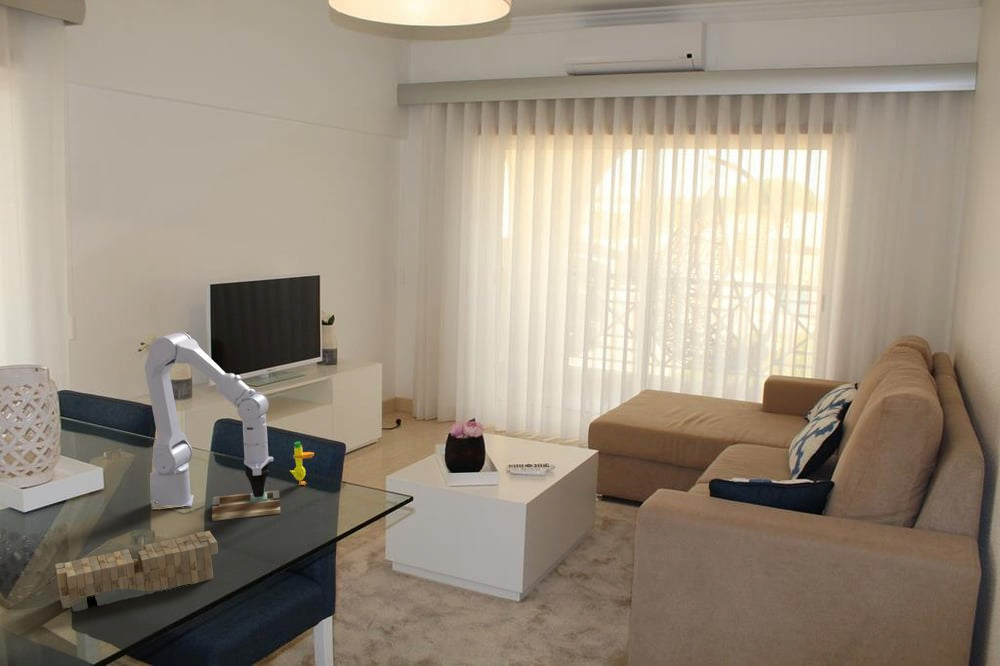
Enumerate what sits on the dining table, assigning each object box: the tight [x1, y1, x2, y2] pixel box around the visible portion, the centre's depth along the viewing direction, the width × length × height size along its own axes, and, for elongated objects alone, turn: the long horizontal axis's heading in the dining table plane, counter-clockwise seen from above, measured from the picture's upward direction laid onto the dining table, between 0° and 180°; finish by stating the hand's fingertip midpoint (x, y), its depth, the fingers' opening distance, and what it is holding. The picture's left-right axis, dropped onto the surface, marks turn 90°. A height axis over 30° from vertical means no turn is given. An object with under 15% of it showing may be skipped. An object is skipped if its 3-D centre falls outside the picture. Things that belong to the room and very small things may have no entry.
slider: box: [251, 487, 268, 502], centre depth 212 cm, size 4×5×5 cm
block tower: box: [54, 530, 219, 601], centre depth 169 cm, size 8×8×29 cm
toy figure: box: [289, 441, 315, 486], centre depth 228 cm, size 7×4×12 cm, turn 109°
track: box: [211, 490, 281, 521], centre depth 212 cm, size 16×12×3 cm
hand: (258, 494), depth 212 cm, fingers closed on slider, 3 cm apart
